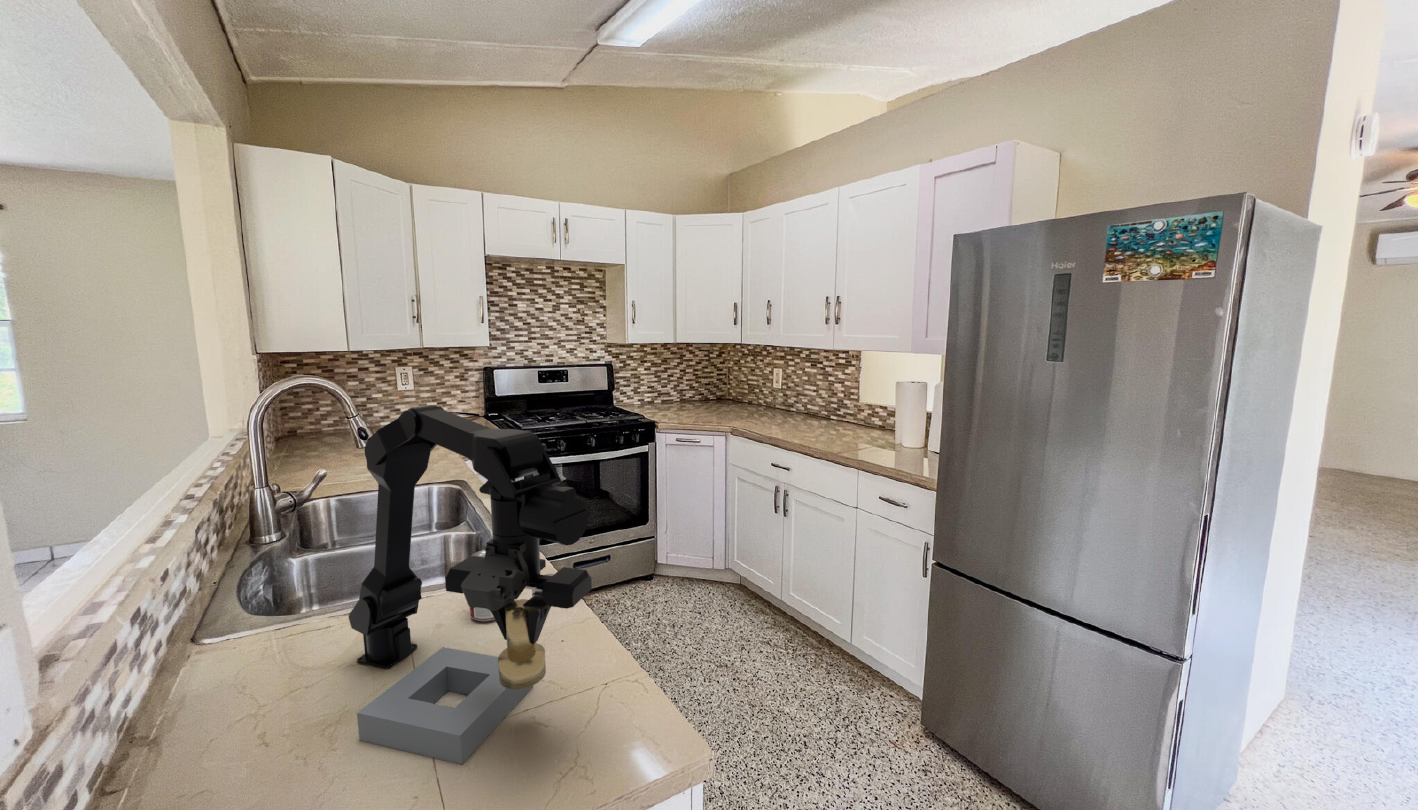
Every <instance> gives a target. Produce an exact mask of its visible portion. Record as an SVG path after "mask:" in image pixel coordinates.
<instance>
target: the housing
mask: <svg viewBox="0 0 1418 810" xmlns="http://www.w3.org/2000/svg"><path fill="white" fill-rule="evenodd" d="M498 657H499V656H496V655H490V654H484V653H477V652H472V651H467V650H461V649H456V648H450V647H444V646H442V647H441V648H440V649H438V650H437V651H436V652H434V653H433V654H431V656H429V657H428V658H427V659H425V660H424V661H423V662H421V663H420V664H418V665H417V666H416V667H415V668H413V669H412V670H411V671H410V672H408V673H407V674H406V675H405V676H403V677H402V678H401V679H399V680H398V681H396V682H395V683H394V684H393V685H391V686H389V688H387V689H386V690H385V691H383V692H382V693H381V694H380V695H378V696H377V697H376V698H374V699H372V701H370V702H369V703H367V705H365V706H364V707H363V708H361V709H360V710H359V711H357V712H356V718H357V727H358V738H359V741H361V742H366V743H370V744H374V745H378V746H382V747H386V748H391V749H395V750H400V751H404V752H407V753H412V754H416V755H421V756H425V757H429V758H433V759H436V760H437V759H438V760H442V761H446V762H451V763H454V764H458V765H463V764H464V763H465V762H466V761H467V760H468V759H469V757H470V756H472V754H473V753H474V752H475V751H476V750H477V749H478V748H479V747H480V746H481V744H482V743H483V742H484V741H485V740H486V739H487V738H488V737H489V736H490V735H491V733H493V732H494V730H495V729H496V728H497V727H498V726H499V724H500V723H502V722H503V720H504V719H505V718H506V717H507V716H508V715H509V714H510V712H512V711H513V709H515V707H516V706H517V705H519V703H520V702H521V701H522V699H523V698H524V697H525V696H526V695H527V694H528V693H529V692H530V691H531V689H533V687H534V685H533V686H530V687H527V688H523V689H508V688H505V687H503V686H502V685H501V684H500V682H499V667H498ZM448 692H452V693H457V694H462V695H467V696H466V697H465V698H464V699H463V700H461V701H460V703H458V704H457V705H455V707H451V706H445V705H442V704H437V703H436V702H438V701H439V700H440V699H441V698H442V697H443V696H444V695H446V694H447V693H448Z"/></svg>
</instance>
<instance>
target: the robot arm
mask: <svg viewBox="0 0 1418 810" xmlns="http://www.w3.org/2000/svg"><path fill="white" fill-rule="evenodd" d="M366 440H367V441H366V443H365V446H364V456H365V460H366V469H367V470H368V472H369V473H370V474H371V476H372V477H373V478H374V480H375V481H376V483H377V486H378V487H377V510H376V525H375V544H374V545H375V546H374V560H373V561H374V562H373V564H374V565H373V568H372V569H371V570H370V571H369V573H368V574H367V576H366V577H365V578H364V580H363V581H362V583H361V586H360V592H359V598H358V601H356V604H355V605H354V606H353V608H352V610H351V611H350V612H349V614H348V620H349V623H350V624H349V625H350V627H351V629H353V630H354V631H356V632H358V633H360V634H362V636H363V638H362V639H363V648H364V654H363V655H362V656H360V657H358V658H357V659H356V663H358V664H361V665H367V666H372V667H379V668H383V669H390V668H391V667H393V666H394V665H395V664H397V663H398V662H400V661H401V660H403V659H404V658H405V657H407V656H408V655H409V654H411V653H412V652H414V651H415V650H416V649H417V648H418V644H417V643H413V642H412V641H411V639H412V638H411V629H410V627H409V619H408V617H410V616H412V615H415V614H418V609H419V602H420V600H422V599H423V598H422V586H423V585H422V584H423V581H422V580H421V578H419V577H418V576H417V574H416V573H415V572H414V571H413V570H412V569H411V567H410V559H411V549H412V548H411V547H412V532H413V531H412V529H413V516H414V503H415V501H414V500H415V489H416V484H418V482H419V481H420V479H421V478H422V477H423V476H424V474H425V472H426V471H427V470H428V466H429V461H430V457H431V452H432V451H433V450H434V449H435V448H436V447H438V446H439V447H441V448H444V449H446V450H448V451H450V452H453V453H455V454H457V455H459V456H463V457H465V458H466V459H468V460H470V461H471V465H472V468H473V470H474V471H475V472H476V473H477V474H478V475H480V476H481V477H483V478H484V479H485V480H487V481H486V482H484V483H483V484H482V485H481V486H480V487H479V493H481V494H483V495H484V494H485V495H489V497H490V511H491V513H490V515H491V533H492V534H491V535H492V538H491V539H490V540H488V541H487V542H486V546H485V549H484V550H485V557H477V556H468V557H467V558H465V559H464V560H462V561H461V562H459V563H457V564H455V565H453V566H452V567H450V568H449V569H448V571H447V572H446V575H445V576H444V581H445V582H444V583H445V592H449V593H457V594H463V595H464V598H465V600H466V602H467V605H468V607H469V608H470V607H472V608H476V607H479V608H485V609H488V610H490V611H491V613H492V614H493V616H494V618H495V620H494V621H495V622H496V624H497V626H498V628H499V630H500V632H501V633H500V634H502V636H503V639H504V640H506V641H507V636H506V617H505V606H506V605H507V604H508V603H510V602H512V601H515V600H518V598H519V597H520V596H521V594H522V593H523V591H525V589H526V590H531V592H532V594H531V598H529V599H527V600H528V601H527V602H526V603H524V604H523V606H524V607H525V608H526V609H527V610H528V612H529V636H530V642H531V644H535V643H537V642H538V641H539V638H540V635H541V632H542V631H543V627H544V625H545V623H546V620H547V617H548V615H549V612H550V610H551V608H552V607H553V608H560V609H570V608H574V607H575V606H576V605H577V604H579V603H578V602H580V601H581V600H582V599H583V598H584V597H585V596H587V594H588V593H589V592H590V591H591V590H592V589H593V588H592V576H591V574H590V573H589V572H588V570H586V569H580V568H573V567H572V568H571V567H565V566H563V567H562V568H561V569H559V570H558V571H557V572H555V573H546V574H541V571H542V570H543V569H545V568H546V565H547V564H546V559H542V558H541V556H540V555H541V553H540V541H543V540H545V541H549V542H551V543H552V542H553V543H555V544H560V545H563V546H571V545H575V544H576V543H577V542H578V541H580V540H581V538H582V537H583V535H584V533H585V532H586V531H587V530H586V529H587V527H588V523H589V517H590V516H589V510H588V509H587V507H586V504H585V502H584V501H583V500H582V499H581V498H578V497H576V489H575V487H571V486H557V485H558V484H560V483H561V482H562V479H561V476H560V475H559V474H558V469H557V467H555V465H554V463H553V462H552V461H551V458H550V457H549V455H548V453H547V451H546V449H545V447H544V445H543V443H541V440H540V437H539V436H538V435H537V434H536V433H534V432H532V431H529V430H522V429H515V428H492V427H488V426H486V425H483V424H481V423H478V422H475V421H473V420H471V419H468V418H465V417H462V416H460V415H457V414H454V413H453V412H450V411H447V410H445V409H444V407H442V406H437V405H436V404H431V405H423V406H417V407H410V408H408V409H406V410H403V412H402V413H401V414H400V415H399V416H398V417H397V418H396V419H394V420H393V421H391V422H389V423H387V424H386V425H384V426H383V427H381V428H379V429H377V430H376V431H375V432H374V433H373V434H372V435H371V436H369V437H368V438H367V439H366ZM536 473H537V474H536ZM534 474H536V475H534ZM529 475H533V476H530V477H528V476H529ZM526 476H527V477H526ZM523 477H526V478H523ZM519 478H523V479H519ZM516 479H519V480H516Z"/></svg>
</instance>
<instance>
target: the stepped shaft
mask: <svg viewBox="0 0 1418 810" xmlns="http://www.w3.org/2000/svg"><path fill="white" fill-rule="evenodd" d="M528 600H529V599H525V598H524V599H515V601H512V602H510V603H508V604H507V605H506V606H505V617H506V636H507V640H506V648H505V649H503V650H502V651H501V652H500V654H499V655H498V656H497V657H498V667H499V682H500V684H501V685H502V686H503V687H505V688H508V689H523V688H527V687H530V686H533V687H534V686H535V685H536V684H539V683H540V682H541V681H542V680H543V679H544V678H545V676H546V673H547V669H546V649H545V647H544V646H543V645H542V644H539V643H537V642H536V643H535V644H531V642H530V636H529V612H528V610H527V609H526V608H525V607H524V606H523V604H524V603H526V602H527V601H528Z"/></svg>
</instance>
